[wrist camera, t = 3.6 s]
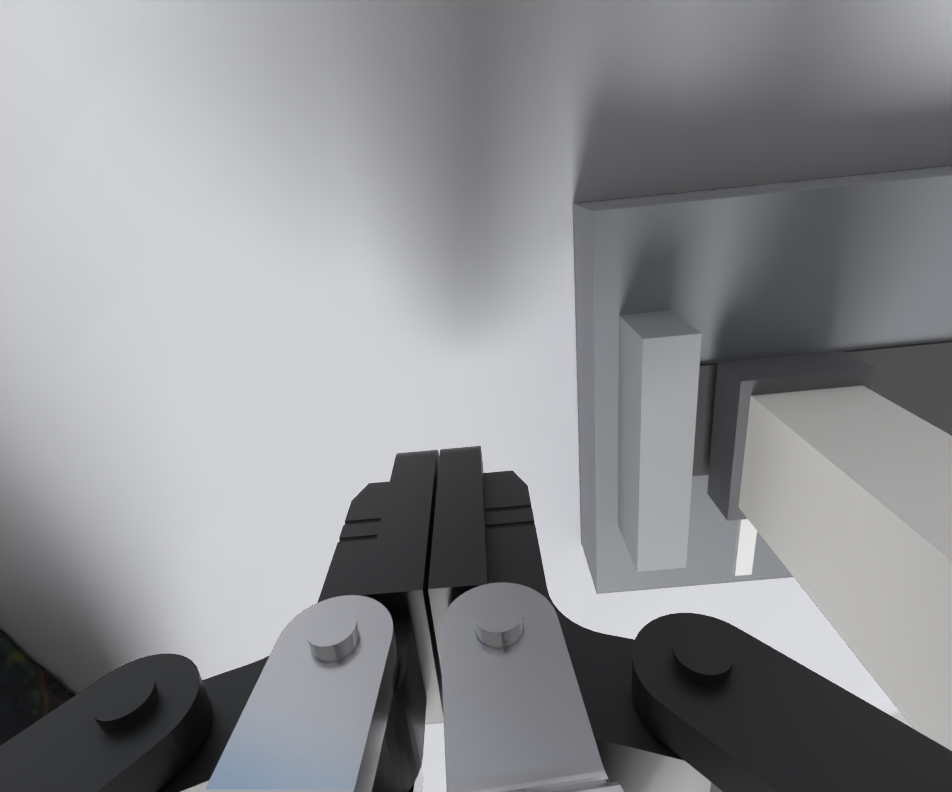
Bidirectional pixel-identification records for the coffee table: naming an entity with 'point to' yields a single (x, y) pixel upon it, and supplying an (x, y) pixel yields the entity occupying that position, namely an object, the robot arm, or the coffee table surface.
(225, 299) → the coffee table surface
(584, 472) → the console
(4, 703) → the candle
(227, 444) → the coffee table surface
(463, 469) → the robot arm
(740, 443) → the fader
